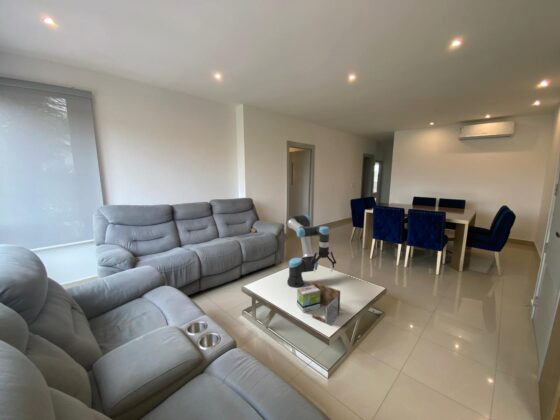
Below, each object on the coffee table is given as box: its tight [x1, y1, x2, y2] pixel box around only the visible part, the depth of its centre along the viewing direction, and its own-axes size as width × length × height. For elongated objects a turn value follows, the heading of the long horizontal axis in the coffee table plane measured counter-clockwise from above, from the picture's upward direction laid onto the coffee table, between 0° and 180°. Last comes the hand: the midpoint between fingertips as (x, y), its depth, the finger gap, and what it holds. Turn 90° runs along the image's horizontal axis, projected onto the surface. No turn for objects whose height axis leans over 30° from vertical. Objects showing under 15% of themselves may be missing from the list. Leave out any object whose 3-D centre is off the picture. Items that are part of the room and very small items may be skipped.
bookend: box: [324, 296, 342, 326], centre depth 162 cm, size 4×18×12 cm, turn 141°
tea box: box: [296, 285, 321, 313], centre depth 175 cm, size 15×10×15 cm, turn 114°
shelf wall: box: [308, 280, 341, 324], centre depth 170 cm, size 26×19×16 cm
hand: (323, 271), depth 184 cm, fingers open, 13 cm apart
